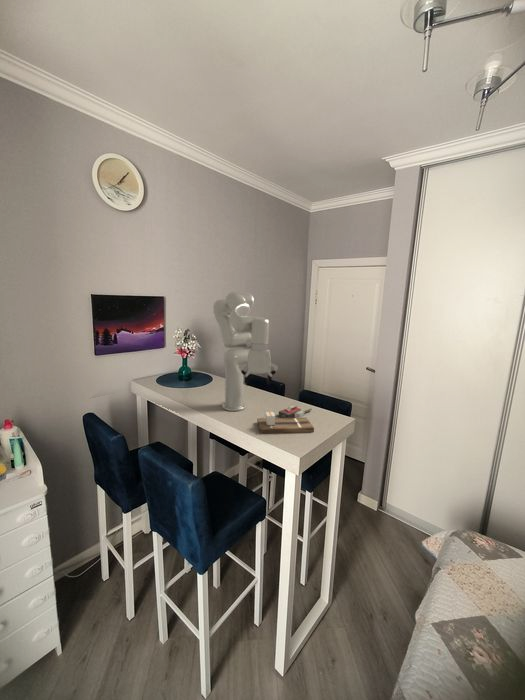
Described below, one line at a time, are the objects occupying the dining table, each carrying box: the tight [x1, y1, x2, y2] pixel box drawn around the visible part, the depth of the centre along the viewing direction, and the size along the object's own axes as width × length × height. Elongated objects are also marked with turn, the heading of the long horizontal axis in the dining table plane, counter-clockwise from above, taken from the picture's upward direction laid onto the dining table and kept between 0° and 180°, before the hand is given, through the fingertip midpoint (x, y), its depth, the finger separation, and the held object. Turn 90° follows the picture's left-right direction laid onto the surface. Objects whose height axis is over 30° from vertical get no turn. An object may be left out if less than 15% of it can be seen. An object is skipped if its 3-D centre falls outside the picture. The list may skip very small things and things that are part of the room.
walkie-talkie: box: [278, 404, 312, 418], centre depth 158 cm, size 9×4×20 cm
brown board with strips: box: [256, 416, 315, 435], centre depth 142 cm, size 12×24×2 cm, turn 98°
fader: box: [264, 411, 276, 425], centre depth 140 cm, size 5×4×4 cm
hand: (257, 384), depth 136 cm, fingers open, 9 cm apart
